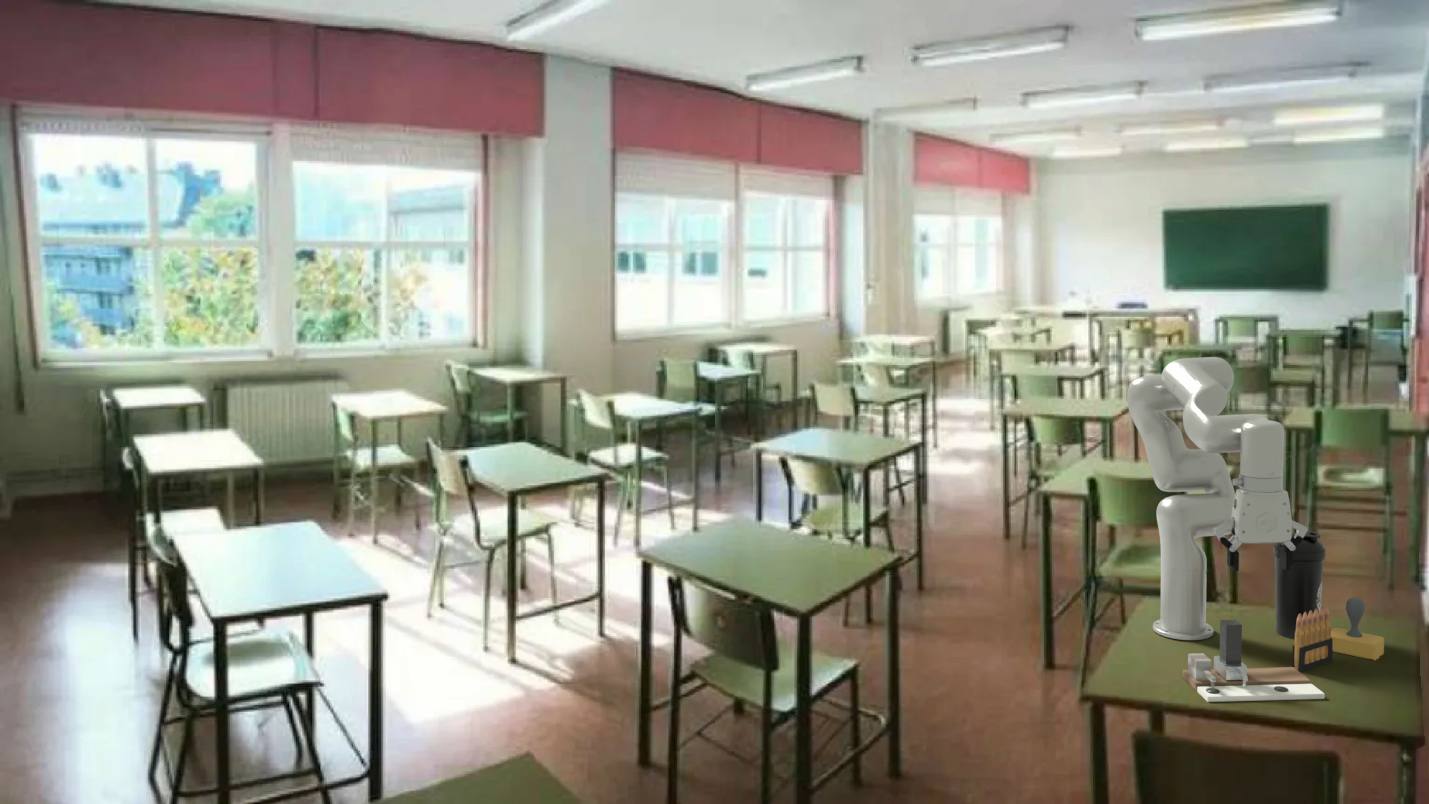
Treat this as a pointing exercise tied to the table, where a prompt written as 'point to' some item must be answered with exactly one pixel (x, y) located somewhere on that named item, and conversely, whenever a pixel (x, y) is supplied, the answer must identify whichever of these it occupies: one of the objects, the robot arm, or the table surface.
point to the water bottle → (1298, 583)
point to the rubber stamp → (1356, 635)
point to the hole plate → (1260, 692)
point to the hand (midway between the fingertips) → (1259, 569)
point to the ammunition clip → (1312, 640)
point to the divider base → (1205, 676)
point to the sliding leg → (1231, 652)
